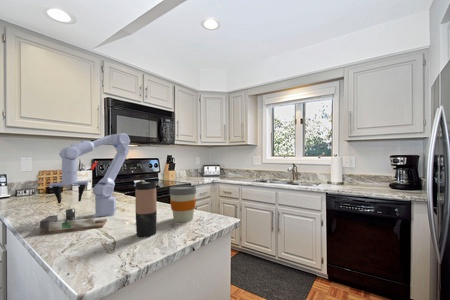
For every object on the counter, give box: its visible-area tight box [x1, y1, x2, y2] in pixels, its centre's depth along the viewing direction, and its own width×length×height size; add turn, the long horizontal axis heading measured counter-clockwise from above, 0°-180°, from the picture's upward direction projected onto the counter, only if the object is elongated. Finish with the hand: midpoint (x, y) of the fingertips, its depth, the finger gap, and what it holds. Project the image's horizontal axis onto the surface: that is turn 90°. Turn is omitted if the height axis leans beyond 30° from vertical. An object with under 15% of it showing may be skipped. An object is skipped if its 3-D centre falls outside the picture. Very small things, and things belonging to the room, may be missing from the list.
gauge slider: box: [64, 208, 79, 225], centre depth 90 cm, size 4×8×6 cm, turn 19°
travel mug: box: [134, 180, 158, 238], centre depth 83 cm, size 8×8×20 cm
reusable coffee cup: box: [168, 184, 197, 223], centre depth 101 cm, size 13×13×15 cm
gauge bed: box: [39, 214, 108, 235], centre depth 92 cm, size 22×9×5 cm, turn 109°
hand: (69, 202), depth 99 cm, fingers open, 7 cm apart
